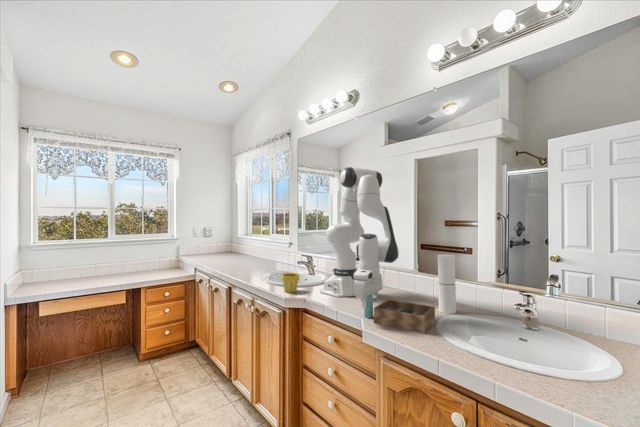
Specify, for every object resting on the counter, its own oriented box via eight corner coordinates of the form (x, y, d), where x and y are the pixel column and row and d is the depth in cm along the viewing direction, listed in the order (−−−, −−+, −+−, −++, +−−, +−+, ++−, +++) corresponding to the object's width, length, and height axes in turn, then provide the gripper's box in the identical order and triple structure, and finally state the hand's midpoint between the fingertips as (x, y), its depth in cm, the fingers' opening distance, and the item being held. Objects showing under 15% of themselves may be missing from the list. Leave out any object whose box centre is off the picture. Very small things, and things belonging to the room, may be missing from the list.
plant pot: (303, 291, 175) (302, 274, 175) (288, 294, 168) (288, 277, 168) (292, 288, 183) (292, 272, 183) (278, 291, 176) (278, 274, 176)
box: (373, 322, 122) (373, 307, 122) (388, 312, 134) (388, 299, 134) (424, 333, 110) (423, 316, 110) (435, 321, 122) (434, 306, 122)
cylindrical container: (435, 310, 137) (434, 255, 137) (447, 308, 140) (446, 254, 140) (447, 314, 131) (446, 256, 131) (459, 312, 133) (458, 255, 134)
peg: (363, 317, 129) (362, 289, 129) (366, 315, 132) (366, 287, 132) (370, 318, 127) (370, 290, 127) (374, 316, 129) (374, 288, 130)
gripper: (372, 268, 140) (373, 298, 139) (351, 275, 123) (352, 309, 122) (385, 269, 136) (386, 299, 136) (365, 276, 119) (366, 311, 119)
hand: (370, 304), depth 129 cm, fingers open, 8 cm apart
